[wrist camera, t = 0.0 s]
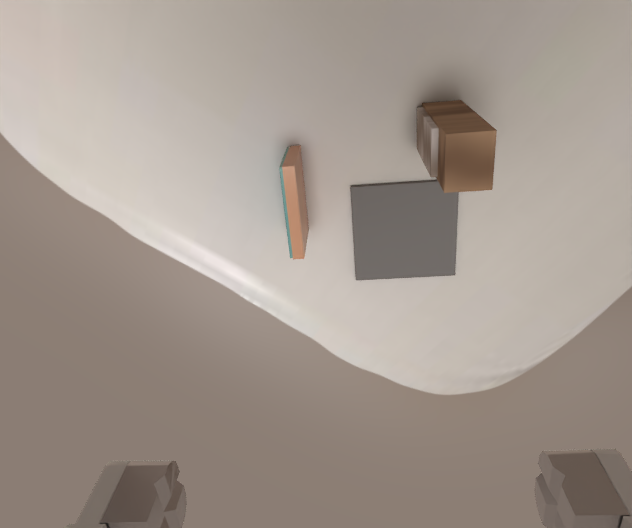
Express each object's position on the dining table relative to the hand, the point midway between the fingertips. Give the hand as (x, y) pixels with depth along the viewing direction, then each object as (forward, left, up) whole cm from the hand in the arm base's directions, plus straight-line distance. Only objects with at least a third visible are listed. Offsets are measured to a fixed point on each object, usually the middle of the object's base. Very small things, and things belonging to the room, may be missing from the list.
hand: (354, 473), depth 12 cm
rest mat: (+15, +6, -48) cm, 51 cm away
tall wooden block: (+3, +10, -48) cm, 49 cm away
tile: (+9, -6, -48) cm, 49 cm away
